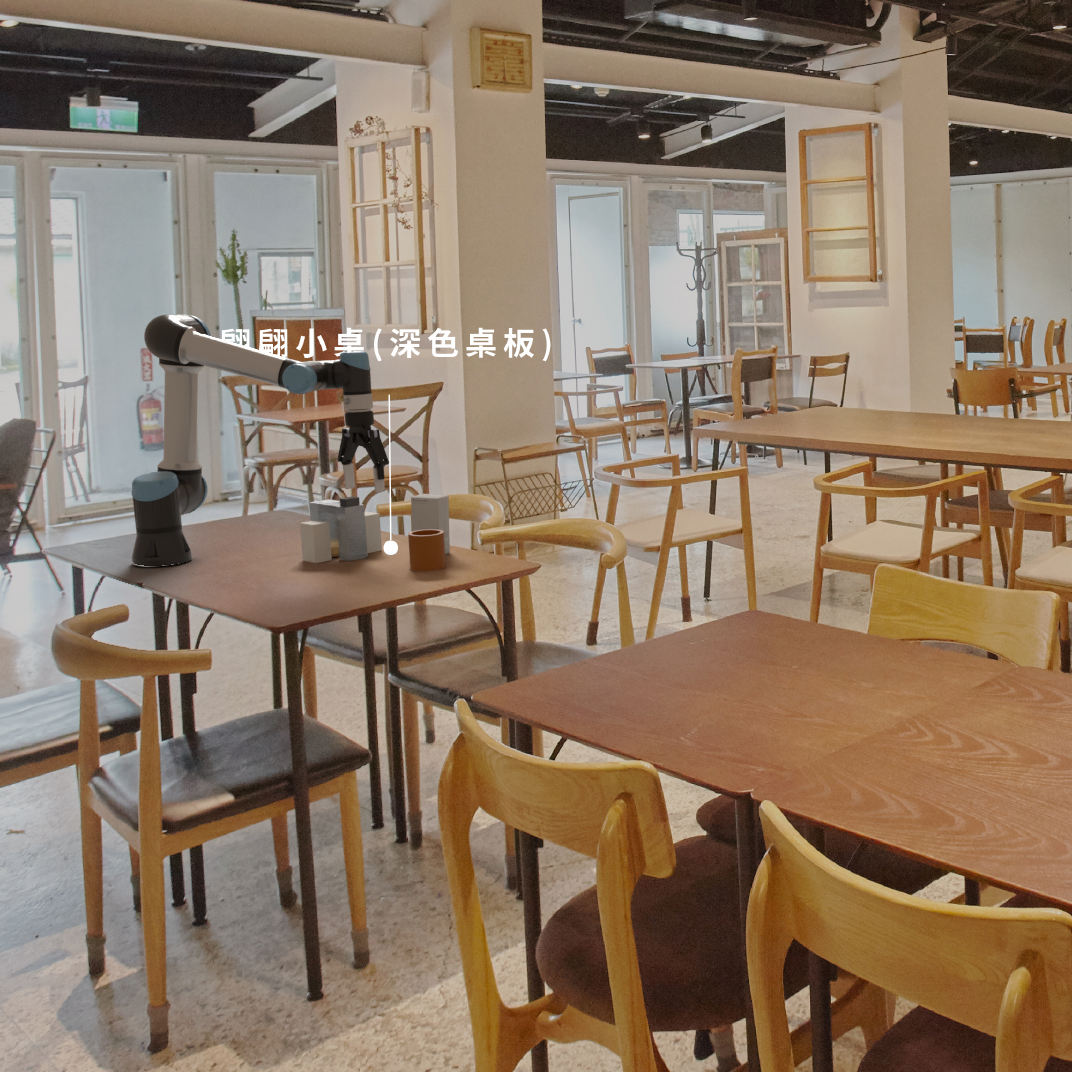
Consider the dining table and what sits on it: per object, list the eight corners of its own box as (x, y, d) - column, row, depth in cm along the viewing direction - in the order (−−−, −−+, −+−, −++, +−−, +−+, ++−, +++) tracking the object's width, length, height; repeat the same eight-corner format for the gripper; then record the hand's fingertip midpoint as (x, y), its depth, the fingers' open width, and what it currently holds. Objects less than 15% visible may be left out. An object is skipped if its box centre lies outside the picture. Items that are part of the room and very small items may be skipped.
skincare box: (412, 556, 317) (408, 497, 314) (423, 551, 323) (420, 493, 320) (440, 557, 313) (437, 497, 311) (452, 552, 319) (448, 493, 317)
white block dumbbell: (302, 560, 317) (299, 522, 315) (368, 547, 331) (366, 511, 329) (315, 563, 312) (312, 525, 311) (381, 550, 326) (379, 513, 325)
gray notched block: (313, 554, 325) (308, 494, 322) (332, 550, 329) (327, 492, 326) (348, 561, 313) (344, 500, 310) (367, 557, 317) (363, 496, 314)
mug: (456, 562, 307) (454, 527, 305) (437, 572, 296) (436, 536, 294) (423, 560, 310) (421, 525, 308) (403, 571, 298) (402, 535, 297)
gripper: (320, 410, 327) (327, 488, 331) (374, 412, 309) (381, 495, 312) (343, 408, 332) (349, 485, 336) (398, 410, 314) (404, 491, 317)
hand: (364, 490), depth 324 cm, fingers open, 13 cm apart
